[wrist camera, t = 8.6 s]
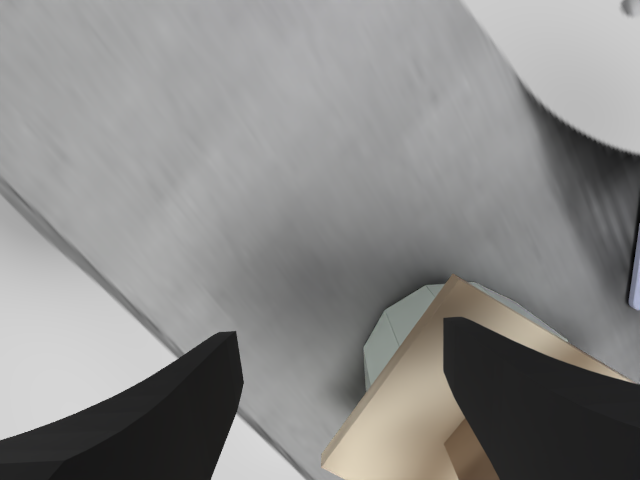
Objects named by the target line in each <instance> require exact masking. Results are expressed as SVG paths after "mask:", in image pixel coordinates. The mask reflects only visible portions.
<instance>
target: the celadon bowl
mask: <svg viewBox="0 0 640 480" xmlns="http://www.w3.org/2000/svg"><path fill="white" fill-rule="evenodd" d="M468 283H470V284H471V285H473V286H475V287H476V288H478V289H480V290H481V291H483V292H485V293H486V294H488V295H490V296H491V297H493V298H495V299H496V300H498V301H500V302H501V303H503V304H505V305H506V306H508V307H510V308H511V309H513V310H515V311H516V312H518V313H520V314H521V315H523V316H525V317H526V318H528V319H530V320H531V321H533V322H535V323H536V324H538V325H540V326H541V327H543V328H545V329H546V330H548V331H550V332H552V333H553V334H555V335H557V336H558V337H560V338H562V339H563V340H565V341H567V342H568V340H567V339H566V338H564V337H563V336H562V335H560V334H559V333H557V332H556V331H555V330H553V329H552V328H551V327H549V326H548V325H547V324H545V323H544V322H542V321H541V320H540V319H538V318H537V317H536V316H534V315H533V314H532V313H530V312H529V311H527V310H526V309H525V308H523V307H522V306H521V305H519V304H518V303H517V302H515V301H513V300H511V299H509V298H507V297H505V296H503V295H501V294H499V293H496V292H494V291H492V290H490V289H488V288H486V287H484V286H482V285H480V284H478V283H475V282H468ZM444 285H445V284H435V285H426V286H423V287H422V288H420V289H418V290H417V291H415V292H413V293H412V294H410V295H409V296H407V297H405V298H404V299H402V300H400V301H399V302H397V303H395V304H394V305H392V306H390V307H389V308H387V309H385V310H384V312H383V314H382V316H381V318H380V319H379V321H378V323H377V325H376V326H375V328H374V330H373V332H372V333H371V335H370V337H369V339H368V340H367V342H366V344H365V346H364V348H363V351H364V369H365V387H366V392H367V391H368V389H369V388H370V387H371V385H372V384H373V383H374V381H375V380H376V378H377V377H378V376H379V374H380V373H381V372H382V370H383V369H384V367H385V366H386V365H387V363H388V362H389V361H390V359H391V358H392V356H393V355H394V354H395V352H396V351H397V349H398V348H399V347H400V345H401V344H402V343H403V341H404V340H405V338H406V337H407V336H408V334H409V333H410V332H411V330H412V329H413V327H414V326H415V325H416V323H417V322H418V321H419V319H420V318H421V316H422V315H423V314H424V312H425V311H426V310H427V308H428V307H429V305H430V304H431V303H432V301H433V300H434V299H435V297H436V296H437V294H438V293H439V292H440V290H441V289H442V288H443V286H444ZM568 343H569V342H568Z"/></svg>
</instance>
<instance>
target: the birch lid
mask: <svg viewBox="0 0 640 480" xmlns="http://www.w3.org/2000/svg"><path fill="white" fill-rule="evenodd" d="M447 317H464V318H467V319H469V320H471V321H474V322H476V323H478V324H480V325H482V326H484V327H486V328H488V329H490V330H492V331H494V332H496V333H499V334H501V335H503V336H505V337H507V338H509V339H511V340H513V341H515V342H517V343H520V344H522V345H524V346H526V347H529V348H531V349H533V350H536V351H538V352H540V353H543V354H545V355H548V356H550V357H553V358H555V359H558V360H561V361H563V362H566V363H569V364H572V365H575V366H578V367H581V368H584V369H586V370H590V371H593V372H596V373H599V374H602V375H606V376H610V377H613V378H617V379H620V380H624V381H627V382H631V383H635V382H633V381H632V380H630V379H628V378H627V377H625V376H623V375H622V374H620V373H618V372H617V371H615V370H613V369H612V368H610V367H608V366H607V365H605V364H603V363H602V362H600V361H598V360H597V359H595V358H593V357H592V356H590V355H588V354H587V353H585V352H583V351H582V350H580V349H578V348H577V347H575V346H573V345H572V344H570V343H568V342H567V341H565V340H563V339H562V338H560V337H558V336H557V335H555V334H553V333H552V332H550V331H548V330H546V329H545V328H543V327H541V326H540V325H538V324H536V323H535V322H533V321H531V320H530V319H528V318H526V317H525V316H523V315H521V314H520V313H518V312H516V311H515V310H513V309H511V308H510V307H508V306H506V305H505V304H503V303H501V302H500V301H498V300H496V299H495V298H493V297H491V296H490V295H488V294H486V293H485V292H483V291H481V290H480V289H478V288H476V287H475V286H473V285H471V284H470V283H468V282H466V281H465V280H463V279H461V278H460V277H458V276H456V275H454V274H452V275H451V277H450V278H449V279H448V281H447V282H446V283H445V285H444V286H443V288H442V289H441V290H440V292H439V293H438V294H437V296H436V297H435V299H434V300H433V301H432V303H431V304H430V305H429V307H428V308H427V310H426V311H425V312H424V314H423V315H422V316H421V318H420V319H419V321H418V322H417V323H416V325H415V326H414V327H413V329H412V330H411V332H410V333H409V334H408V336H407V337H406V338H405V340H404V341H403V343H402V344H401V345H400V347H399V348H398V349H397V351H396V352H395V354H394V355H393V356H392V358H391V359H390V361H389V362H388V363H387V365H386V366H385V367H384V369H383V370H382V372H381V373H380V374H379V376H378V377H377V378H376V380H375V381H374V383H373V384H372V385H371V387H370V388H369V389H368V391H367V392H366V394H365V395H364V396H363V398H362V399H361V400H360V402H359V403H358V405H357V406H356V407H355V409H354V410H353V411H352V413H351V414H350V416H349V417H348V418H347V420H346V421H345V422H344V424H343V425H342V427H341V428H340V429H339V431H338V432H337V433H336V435H335V436H334V438H333V439H332V440H331V442H330V443H329V444H328V446H327V447H326V449H325V450H324V451H323V453H322V454H321V468H323V469H325V470H327V471H329V472H331V473H333V474H335V475H337V476H339V477H341V478H343V479H345V480H500V479H499V477H498V475H497V473H496V471H495V470H494V468H493V466H492V464H491V462H490V460H489V458H488V457H487V455H486V453H485V451H484V450H483V448H482V446H481V444H480V443H479V441H478V439H477V437H476V436H475V434H474V432H473V430H472V429H471V427H470V425H469V423H468V422H467V420H466V418H465V416H464V415H463V413H462V411H461V409H460V408H459V406H458V404H457V402H456V400H455V398H454V396H453V394H452V392H451V389H450V387H449V384H448V382H447V379H446V377H445V374H444V372H443V318H447ZM635 384H637V383H635Z"/></svg>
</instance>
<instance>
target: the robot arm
mask: <svg viewBox="0 0 640 480" xmlns="http://www.w3.org/2000/svg"><path fill="white" fill-rule="evenodd" d="M629 305H630V307H632V308H634V309H636V310H640V225H639V232H638V239H637V246H636V253H635V260H634V267H633V275H632V282H631V289H630V296H629ZM443 372H444V374H445V377H446V379H447V382H448V384H449V387H450V389H451V392H452V394H453V396H454V398H455V400H456V402H457V404H458V406H459V408H460V409H461V411H462V413H463V415H464V416H465V418H466V420H467V422H468V423H469V425H470V427H471V429H472V430H473V432H474V434H475V436H476V437H477V439H478V441H479V443H480V444H481V446H482V448H483V450H484V451H485V453H486V455H487V457H488V458H489V460H490V462H491V464H492V466H493V468H494V470H495V471H496V473H497V475H498V477H499V479H500V480H640V385H639V384H635V383H631V382H627V381H624V380H620V379H617V378H613V377H610V376H606V375H602V374H599V373H596V372H593V371H590V370H586V369H584V368H581V367H578V366H575V365H572V364H569V363H566V362H563V361H561V360H558V359H555V358H553V357H550V356H548V355H545V354H543V353H540V352H538V351H536V350H533V349H531V348H529V347H526V346H524V345H522V344H520V343H517V342H515V341H513V340H511V339H509V338H507V337H505V336H503V335H501V334H499V333H496V332H494V331H492V330H490V329H488V328H486V327H484V326H482V325H480V324H478V323H476V322H474V321H471V320H469V319H467V318H464V317H447V318H443ZM243 384H244V381H243V374H242V367H241V361H240V354H239V348H238V341H237V334H236V331H232V332H219V333H217V334H215V335H213V336H211V337H210V338H208V339H207V340H205V341H204V342H202V343H201V344H199V345H198V346H196V347H195V348H193V349H192V350H191V351H189V352H188V353H186V354H185V355H183V356H182V357H180V358H179V359H177V360H176V361H174V362H173V363H171V364H169V365H168V366H166V367H165V368H163V369H161V370H160V371H158V372H157V373H155V374H154V375H152V376H150V377H149V378H147V379H145V380H144V381H142V382H140V383H138V384H136V385H135V386H133V387H131V388H129V389H127V390H125V391H123V392H121V393H119V394H117V395H115V396H113V397H112V398H109V399H107V400H105V401H102V402H100V403H98V404H96V405H94V406H91V407H89V408H87V409H85V410H82V411H80V412H78V413H76V414H73V415H71V416H68V417H66V418H63V419H60V420H58V421H56V422H53V423H50V424H48V425H45V426H42V427H39V428H36V429H34V430H31V431H28V432H25V433H22V434H19V435H16V436H13V437H10V438H6V439H3V440H0V480H211V477H212V474H213V472H214V469H215V467H216V464H217V462H218V459H219V456H220V454H221V451H222V449H223V446H224V443H225V441H226V438H227V436H228V433H229V431H230V428H231V425H232V423H233V420H234V417H235V415H236V412H237V409H238V405H239V401H240V397H241V393H242V388H243Z"/></svg>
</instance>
